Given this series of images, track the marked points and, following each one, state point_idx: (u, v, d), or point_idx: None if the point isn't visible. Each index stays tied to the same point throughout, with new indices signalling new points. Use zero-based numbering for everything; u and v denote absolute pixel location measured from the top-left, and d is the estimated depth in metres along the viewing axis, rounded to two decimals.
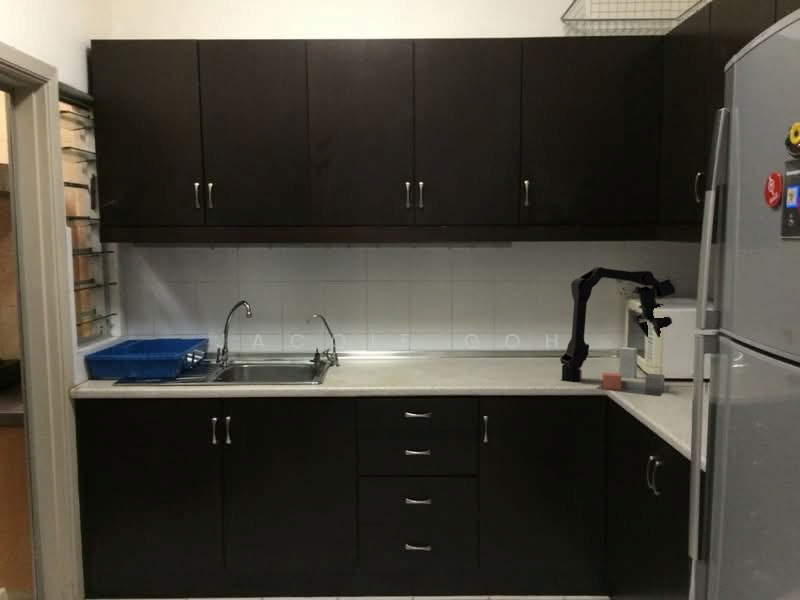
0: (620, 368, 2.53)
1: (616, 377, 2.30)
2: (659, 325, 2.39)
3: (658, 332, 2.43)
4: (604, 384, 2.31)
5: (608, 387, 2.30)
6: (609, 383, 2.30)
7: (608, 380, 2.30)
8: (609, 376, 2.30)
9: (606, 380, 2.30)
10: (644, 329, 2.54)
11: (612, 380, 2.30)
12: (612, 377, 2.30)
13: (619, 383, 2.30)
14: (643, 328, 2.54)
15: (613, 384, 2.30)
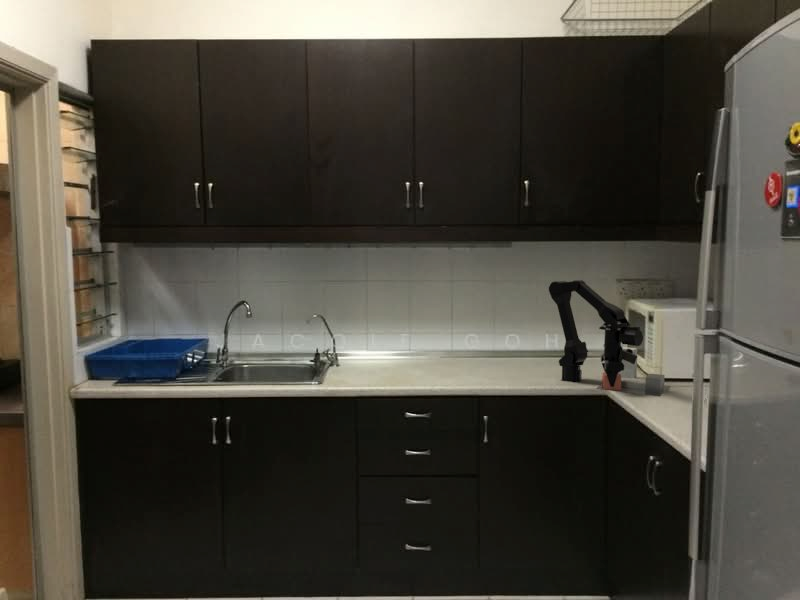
0: None
1: (616, 377, 2.30)
2: (608, 368, 2.23)
3: (608, 374, 2.28)
4: (604, 384, 2.31)
5: (608, 387, 2.30)
6: (609, 383, 2.30)
7: (608, 380, 2.30)
8: None
9: (606, 380, 2.30)
10: None
11: None
12: None
13: (619, 383, 2.30)
14: None
15: None
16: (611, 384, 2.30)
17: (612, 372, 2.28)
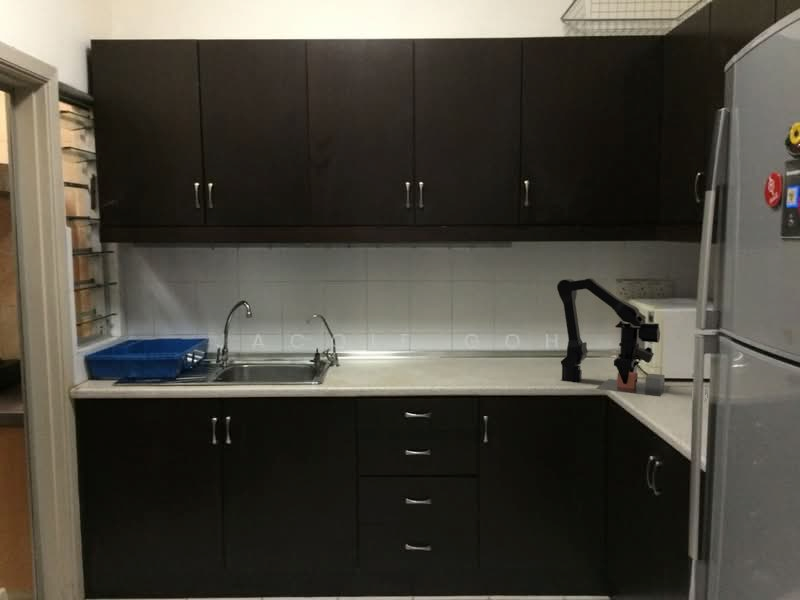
0: None
1: (630, 376, 2.32)
2: (615, 364, 2.28)
3: (620, 371, 2.31)
4: (618, 382, 2.34)
5: (622, 385, 2.34)
6: None
7: None
8: None
9: (620, 378, 2.34)
10: None
11: None
12: None
13: (632, 381, 2.31)
14: None
15: (627, 383, 2.33)
16: (624, 381, 2.32)
17: (624, 369, 2.31)
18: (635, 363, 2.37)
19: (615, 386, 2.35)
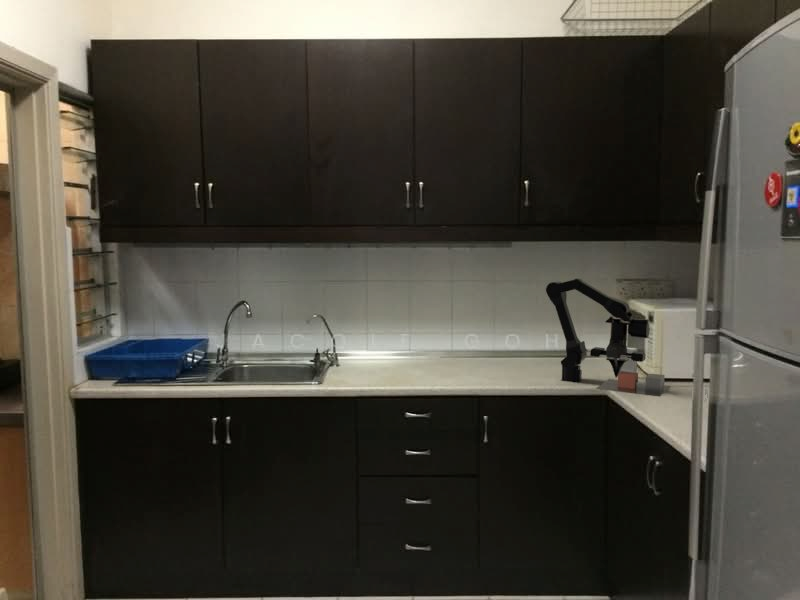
0: None
1: (630, 376, 2.32)
2: None
3: None
4: (618, 382, 2.34)
5: (622, 385, 2.33)
6: (623, 381, 2.33)
7: (622, 378, 2.33)
8: (623, 374, 2.33)
9: (620, 378, 2.34)
10: None
11: (626, 379, 2.33)
12: (626, 376, 2.32)
13: (633, 382, 2.31)
14: None
15: (627, 383, 2.32)
16: None
17: None
18: None
19: (615, 386, 2.35)
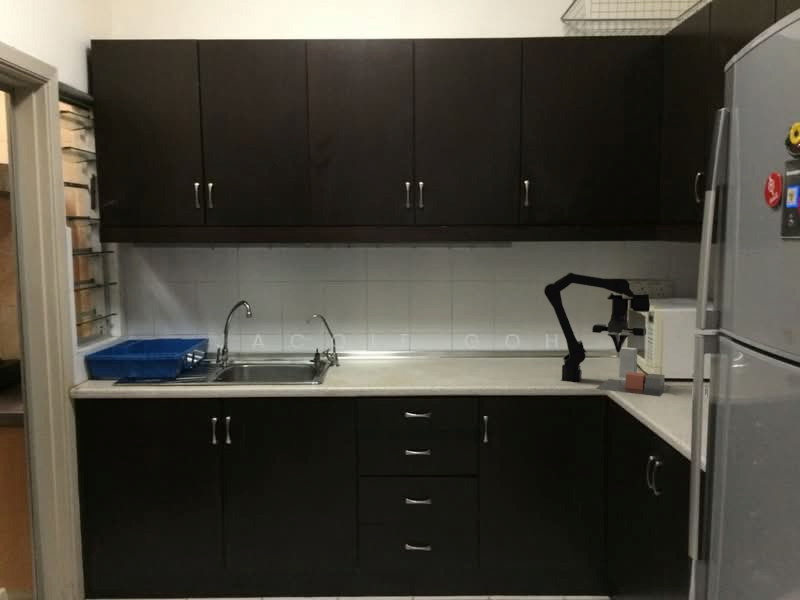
0: (620, 368, 2.53)
1: (638, 377, 2.30)
2: None
3: None
4: (626, 383, 2.33)
5: (630, 386, 2.32)
6: (631, 382, 2.32)
7: (630, 379, 2.32)
8: (631, 375, 2.32)
9: (628, 379, 2.32)
10: None
11: (634, 379, 2.31)
12: (634, 376, 2.31)
13: (641, 382, 2.30)
14: None
15: (635, 384, 2.31)
16: None
17: None
18: None
19: (615, 386, 2.35)
